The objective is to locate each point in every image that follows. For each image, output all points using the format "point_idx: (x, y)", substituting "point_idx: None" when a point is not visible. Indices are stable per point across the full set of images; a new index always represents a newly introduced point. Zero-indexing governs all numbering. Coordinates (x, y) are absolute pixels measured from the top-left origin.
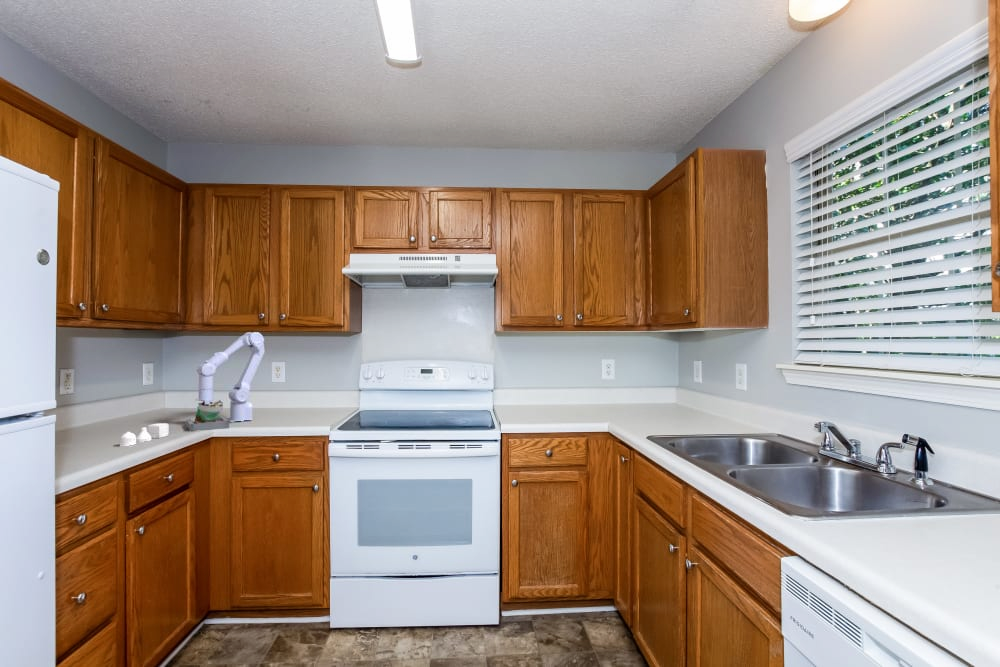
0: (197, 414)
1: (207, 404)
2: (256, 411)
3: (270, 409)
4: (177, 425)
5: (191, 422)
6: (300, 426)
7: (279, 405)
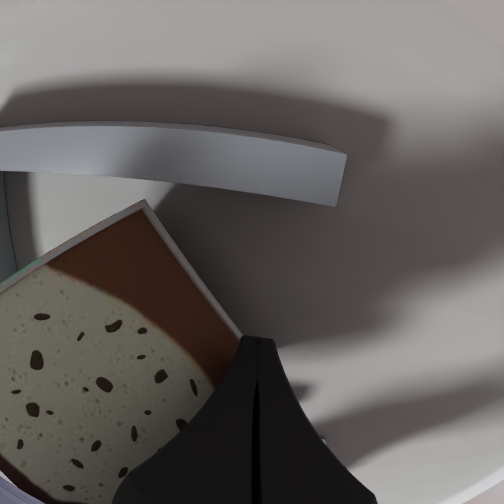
0: (17, 276)
1: (14, 478)
2: (446, 483)
3: (434, 499)
4: (438, 95)
5: (17, 160)
6: None
7: (464, 498)
